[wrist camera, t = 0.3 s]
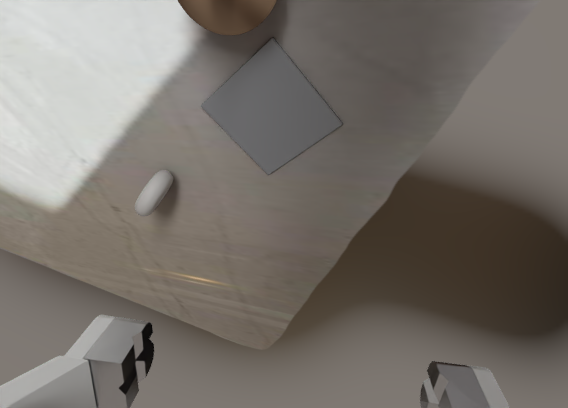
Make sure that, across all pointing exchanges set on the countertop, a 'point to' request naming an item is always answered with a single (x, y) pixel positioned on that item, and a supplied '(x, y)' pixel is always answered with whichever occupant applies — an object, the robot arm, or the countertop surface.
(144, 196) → the white torus ring
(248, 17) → the walnut lid
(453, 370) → the robot arm
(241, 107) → the rubber mat
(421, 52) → the countertop surface
